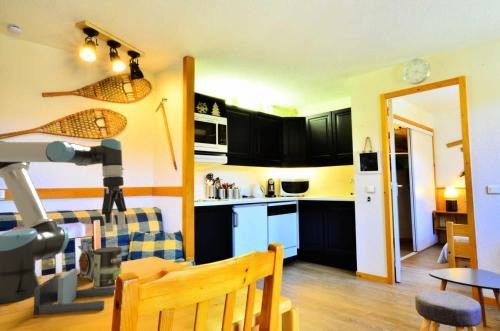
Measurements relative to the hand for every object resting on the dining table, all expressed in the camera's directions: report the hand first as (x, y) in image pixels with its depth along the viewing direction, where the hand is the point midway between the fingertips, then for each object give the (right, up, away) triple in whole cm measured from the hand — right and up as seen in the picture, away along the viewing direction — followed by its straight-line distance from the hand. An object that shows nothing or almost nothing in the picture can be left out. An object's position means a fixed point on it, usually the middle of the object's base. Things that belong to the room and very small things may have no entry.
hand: (116, 229), depth 118 cm
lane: (-4, -21, -19) cm, 29 cm away
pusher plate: (-7, -21, -20) cm, 29 cm away
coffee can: (-4, -23, 0) cm, 23 cm away
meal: (-17, -23, +9) cm, 30 cm away
